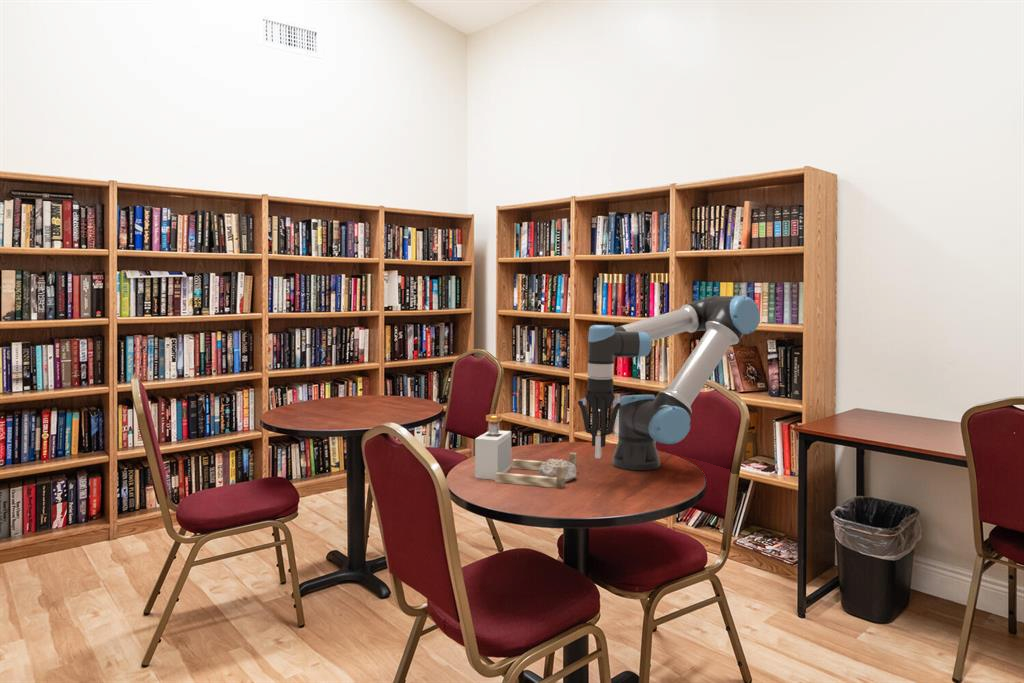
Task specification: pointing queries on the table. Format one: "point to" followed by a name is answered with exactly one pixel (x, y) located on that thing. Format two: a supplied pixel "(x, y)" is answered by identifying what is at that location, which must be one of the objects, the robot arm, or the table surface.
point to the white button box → (492, 454)
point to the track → (533, 479)
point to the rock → (551, 468)
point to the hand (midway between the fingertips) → (598, 457)
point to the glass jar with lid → (493, 424)
